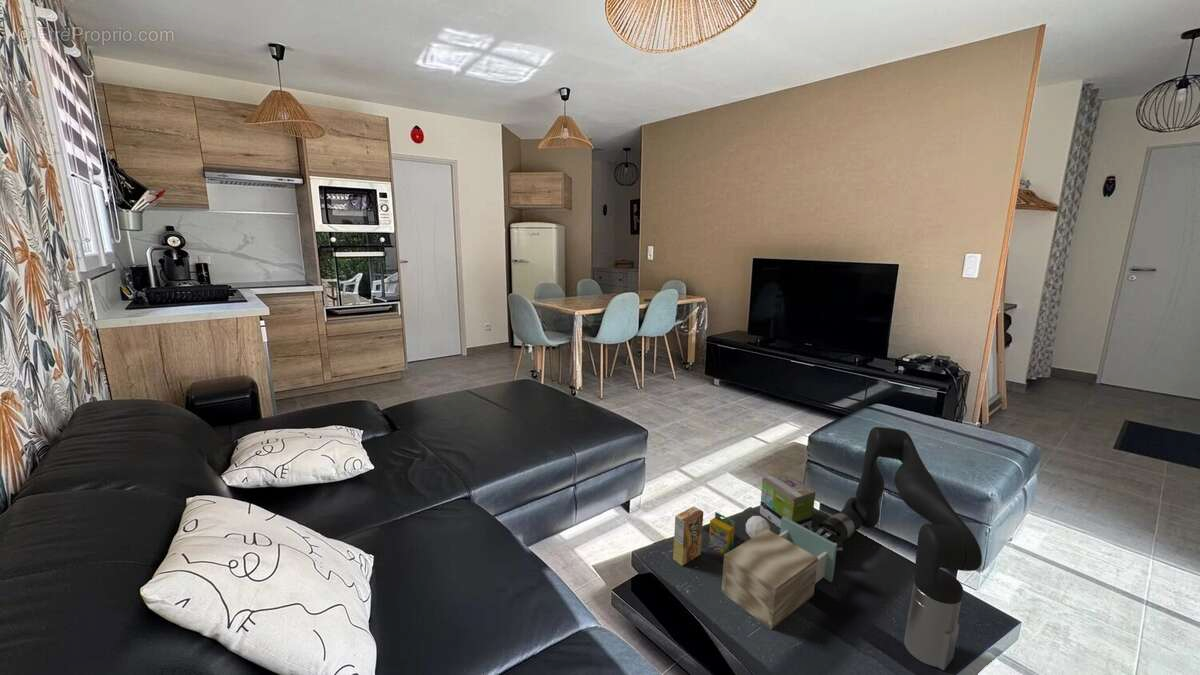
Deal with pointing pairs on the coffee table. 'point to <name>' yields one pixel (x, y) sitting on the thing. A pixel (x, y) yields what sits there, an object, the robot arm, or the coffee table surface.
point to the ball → (756, 526)
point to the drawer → (811, 547)
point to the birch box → (769, 577)
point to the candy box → (688, 535)
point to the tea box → (786, 500)
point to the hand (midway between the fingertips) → (807, 548)
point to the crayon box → (721, 534)
